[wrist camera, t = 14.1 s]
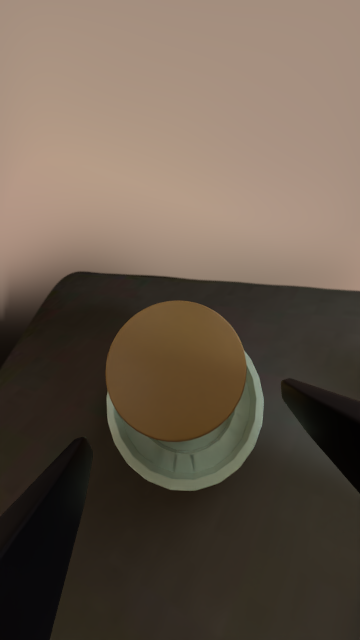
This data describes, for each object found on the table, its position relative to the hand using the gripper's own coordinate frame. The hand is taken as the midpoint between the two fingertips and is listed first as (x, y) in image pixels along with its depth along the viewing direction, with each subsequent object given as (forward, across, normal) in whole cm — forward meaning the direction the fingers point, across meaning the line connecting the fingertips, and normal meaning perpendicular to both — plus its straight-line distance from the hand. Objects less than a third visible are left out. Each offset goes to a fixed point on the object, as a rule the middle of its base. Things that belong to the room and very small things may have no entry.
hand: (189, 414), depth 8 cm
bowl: (+10, 0, +6) cm, 12 cm away
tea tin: (+9, 0, +6) cm, 11 cm away
